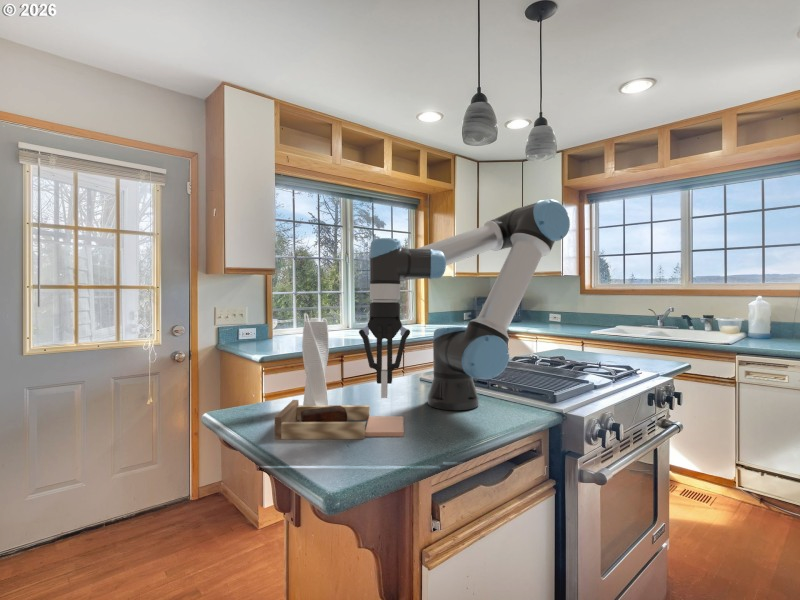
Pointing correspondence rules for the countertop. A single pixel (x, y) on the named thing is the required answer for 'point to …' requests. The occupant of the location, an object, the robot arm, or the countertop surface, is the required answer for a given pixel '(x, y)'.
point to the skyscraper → (315, 360)
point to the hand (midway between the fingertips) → (384, 396)
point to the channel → (320, 423)
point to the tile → (385, 426)
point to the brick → (325, 414)
